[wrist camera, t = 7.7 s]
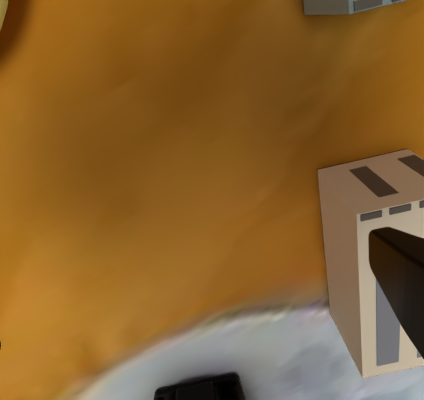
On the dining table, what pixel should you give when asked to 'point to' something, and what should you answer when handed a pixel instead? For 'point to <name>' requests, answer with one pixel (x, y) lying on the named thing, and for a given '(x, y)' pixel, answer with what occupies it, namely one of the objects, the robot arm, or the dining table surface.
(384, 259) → the robot arm
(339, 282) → the block
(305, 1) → the stub
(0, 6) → the emoji
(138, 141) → the dining table surface
